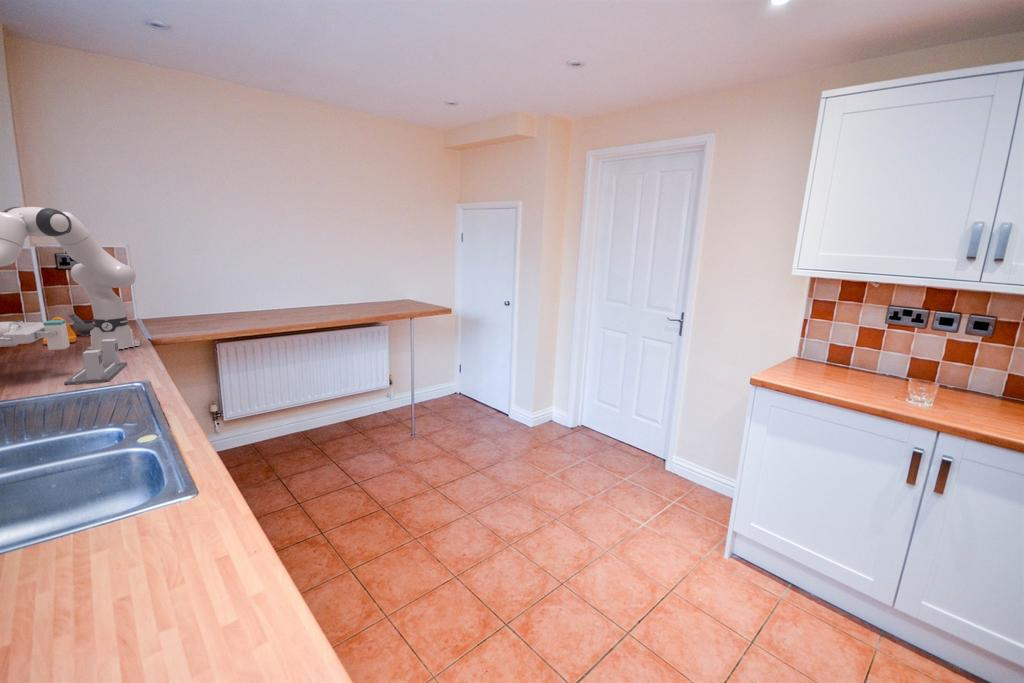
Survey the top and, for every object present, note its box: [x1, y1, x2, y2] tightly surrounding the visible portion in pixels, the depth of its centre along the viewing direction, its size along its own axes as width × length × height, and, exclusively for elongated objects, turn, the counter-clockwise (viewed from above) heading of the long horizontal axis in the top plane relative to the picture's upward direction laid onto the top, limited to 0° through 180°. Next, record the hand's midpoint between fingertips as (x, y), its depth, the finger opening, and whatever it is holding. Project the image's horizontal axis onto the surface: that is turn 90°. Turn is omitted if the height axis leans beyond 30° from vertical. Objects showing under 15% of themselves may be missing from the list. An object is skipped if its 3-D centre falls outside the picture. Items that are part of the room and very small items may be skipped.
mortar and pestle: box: [67, 312, 94, 337], centre depth 234 cm, size 11×9×12 cm
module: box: [43, 319, 71, 351], centre depth 170 cm, size 5×5×10 cm
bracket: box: [42, 316, 77, 345], centre depth 217 cm, size 11×7×12 cm, turn 128°
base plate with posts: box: [63, 339, 128, 386], centre depth 174 cm, size 25×12×11 cm, turn 27°
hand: (59, 331), depth 170 cm, fingers closed on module, 5 cm apart
